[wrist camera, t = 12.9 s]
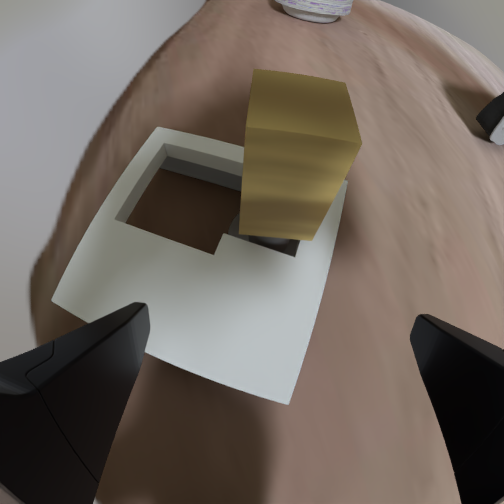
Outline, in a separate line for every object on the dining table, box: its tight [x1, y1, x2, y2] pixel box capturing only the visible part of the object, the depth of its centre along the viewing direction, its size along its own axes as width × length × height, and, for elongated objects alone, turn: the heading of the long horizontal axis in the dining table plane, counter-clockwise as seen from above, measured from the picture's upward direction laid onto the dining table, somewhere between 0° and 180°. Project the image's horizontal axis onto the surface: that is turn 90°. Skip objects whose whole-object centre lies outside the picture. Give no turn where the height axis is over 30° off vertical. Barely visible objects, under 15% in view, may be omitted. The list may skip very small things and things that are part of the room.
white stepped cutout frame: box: [51, 127, 348, 405], centre depth 19 cm, size 15×15×4 cm
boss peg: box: [228, 69, 362, 257], centre depth 16 cm, size 6×6×13 cm
